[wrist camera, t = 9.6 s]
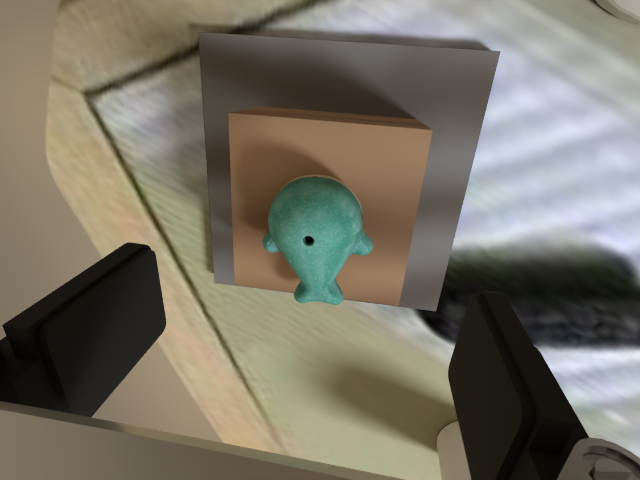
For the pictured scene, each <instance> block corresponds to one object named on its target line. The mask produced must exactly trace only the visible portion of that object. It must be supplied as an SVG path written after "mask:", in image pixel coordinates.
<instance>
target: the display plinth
mask: <svg viewBox="0 0 640 480" xmlns="http://www.w3.org/2000/svg"><path fill="white" fill-rule="evenodd" d="M198 36H199V51H200V66H201V82H202V97H203V113H204V128H205V144H206V159H207V174H208V190H209V205H210V221H211V236H212V252H213V267H214V283H220V284H228V285H235V286H243V287H251V288H259V289H267V290H274V291H282V292H290V293H294V292H295V290H296V287H297V286H298V284H299V282H300V278H299V277H298V276H297V274H296V273H295V272H294V271H293V269H292V268H291V266H290V265H289V263H288V261H287V260H286V258H285V257H284V255H283V253H282V252H280V251H278V252H273V253H272V252H269V251H267V250H266V249H265V248H264V246H263V242H262V241H263V238H264V236H265V235H266V234H267V232H268V231H269V230H270V229H269V226H268V216H269V210H270V207H271V204H272V202H273V200H274V198H275V196H276V195H277V193H278V192H279V191H280V190H281V188H282V187H284V186H285V185H286V184H287V183H288V182H290V181H291V180H293V179H295V178H298V177H301V176H305V175H326V176H330V177H333V178H336V179H338V180H340V181H342V182H343V183H345V184H346V185H347V186H349V187H350V188H351V190H352V191H353V192H354V193H355V195H356V196H357V198H358V200H359V202H360V205H361V208H362V213H363V226H362V227H363V230H364V231H365V232H366V233H367V235H368V236H369V237H370V238H371V240H372V242H373V249H372V251H371V252H370V253H369V254H368V255H363V256H361V255H357V254H351V255H350V256H349V257H348V258H347V260H346V262H345V264H344V266H343V267H342V269H341V270H340V272H339V274H338V275H337V276H336V281H337V283H338V285H339V286H340V288H341V290H342V292H343V295H344V298H343V299H345V300H353V301H360V302H368V303H376V304H384V305H392V306H399V307H407V308H415V309H423V310H431V311H436V309H437V305H438V301H439V297H440V293H441V289H442V285H443V281H444V277H445V273H446V269H447V265H448V261H449V257H450V253H451V249H452V245H453V241H454V237H455V232H456V228H457V224H458V220H459V216H460V212H461V208H462V204H463V200H464V196H465V192H466V188H467V184H468V180H469V176H470V172H471V168H472V164H473V160H474V156H475V152H476V148H477V144H478V140H479V135H480V131H481V127H482V123H483V119H484V115H485V111H486V107H487V103H488V99H489V95H490V91H491V87H492V83H493V79H494V75H495V71H496V67H497V63H498V59H499V55H500V51H485V50H470V49H454V48H439V47H424V46H408V45H393V44H377V43H362V42H346V41H331V40H315V39H300V38H284V37H269V36H253V35H238V34H222V33H207V32H198Z"/></svg>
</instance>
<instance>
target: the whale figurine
mask: <svg viewBox="0 0 640 480" xmlns="http://www.w3.org/2000/svg"><path fill="white" fill-rule="evenodd" d="M268 226H269V229H270V230H269V231H268V232H267V234H266V235H265V236H264V238H263V241H262V242H263V246H264V248H265V249H266V250H267V251H269V252H272V253H273V252H278V251H280V252H282V253H283V255H284V257H285V258H286V260H287V261H288V263H289V265H290V266H291V268H292V269H293V271H294V272H295V273H296V274H297V276H298V277H299V278H300V282H299V284H298V286H297V287H296V290H295V292H294V297H295V299H296V301H298V302H300V303H306V302H312V301H320V302H326V303H329V304H333V305H337V304H340V303H341V302H342V301H343V298H344V295H343V292H342V290H341V288H340V286H339V285H338V283H337V281H336V276H337V275H338V274H339V272H340V270H341V269H342V267H343V266H344V264H345V262H346V260H347V258H348V257H349V256H350V255H351V254H357V255H361V256H363V255H368V254H369V253H370V252H371V251H372V249H373V242H372V240H371V238H370V237H369V236H368V235H367V233H366V232H365V231H364V230H363V227H362V226H363V213H362V208H361V205H360V202H359V200H358V198H357V196H356V195H355V193H354V192H353V191H352V190H351V188H350V187H349V186H347V185H346V184H345V183H343V182H342V181H340V180H338V179H336V178H333V177H330V176H326V175H305V176H301V177H298V178H295V179H293V180H291V181H290V182H288V183H287V184H286V185H285V186H284V187H282V188H281V190H280V191H279V192H278V193H277V195H276V196H275V198H274V200H273V202H272V204H271V207H270V210H269V216H268Z"/></svg>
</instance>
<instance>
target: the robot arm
mask: <svg viewBox="0 0 640 480" xmlns="http://www.w3.org/2000/svg"><path fill="white" fill-rule="evenodd" d="M595 1H596V2H597V3H598V4H599V5H600V6H601V7H602V8H604V9H605V10H607V11H608V12H610V13H611V14H613V15H614V16H616V17H617V18H619V19H622V20H625V21H628V22H631V23H634V24H636V25H640V0H595ZM2 326H3V328H4V331H5V333H6V337H4V338H3V339H2V340H0V480H403V479H399V478H394V477H389V476H384V475H379V474H374V473H370V472H365V471H360V470H355V469H350V468H345V467H340V466H335V465H330V464H325V463H320V462H315V461H310V460H305V459H300V458H296V457H291V456H286V455H281V454H276V453H271V452H266V451H261V450H255V449H250V448H245V447H240V446H235V445H230V444H225V443H220V442H215V441H210V440H204V439H199V438H194V437H189V436H184V435H179V434H174V433H169V432H164V431H159V430H153V429H149V428H143V427H137V426H132V425H127V424H122V423H116V422H112V421H107V420H101V419H96V418H91V417H92V416H93V415H94V413H95V412H96V411H97V410H98V409H99V407H100V406H101V405H102V404H103V403H104V402H105V400H106V399H107V398H108V397H109V396H110V394H111V393H112V392H113V391H114V390H115V388H116V387H117V386H118V385H119V384H120V383H121V381H122V380H123V379H124V378H125V377H126V375H127V374H128V373H129V372H130V371H131V369H132V368H133V367H134V366H135V365H136V363H137V362H138V361H139V360H140V359H141V358H142V356H143V355H144V354H145V353H146V352H147V350H148V349H149V348H150V347H151V346H152V345H153V343H154V342H155V341H156V340H157V339H158V337H159V336H160V335H161V334H162V333H163V331H164V329H165V326H166V317H165V311H164V304H163V298H162V292H161V286H160V279H159V273H158V267H157V260H156V255H155V252H154V251H152V250H151V248H150V247H149V246H148V245H144V244H137V243H126V244H124V245H122V246H121V247H119V248H118V249H116V250H115V251H113V252H112V253H110V254H109V255H107V256H106V257H104V258H103V259H101V260H100V261H99V262H97V263H96V264H94V265H92V266H91V267H89V268H88V269H87V270H85V271H83V272H82V273H81V274H79V275H77V276H76V277H74V278H73V279H71V280H70V281H68V282H67V283H65V284H64V285H63V286H61V287H59V288H58V289H56V290H55V291H53V292H52V293H50V294H49V295H47V296H46V297H44V298H43V299H41V300H40V301H39V302H37V303H35V304H34V305H32V306H31V307H29V308H28V309H26V310H25V311H23V312H22V313H20V314H19V315H17V316H16V317H14V318H13V319H11V320H9V321H8V322H6V323H5V324H4V325H2ZM448 378H449V383H450V387H451V392H452V396H453V401H454V405H455V409H456V414H457V418H458V423H459V427H460V432H461V436H462V440H463V445H464V449H465V454H466V458H467V462H468V467H469V471H470V476H471V480H640V458H639V457H637V456H636V455H634V454H633V453H632V452H630V451H628V450H626V449H625V448H623V447H621V446H619V445H617V444H615V443H612V442H609V441H606V440H603V439H597V438H589V436H588V435H587V433H586V431H585V429H584V428H583V426H582V424H581V422H580V421H579V419H578V417H577V415H576V414H575V412H574V410H573V409H572V407H571V405H570V403H569V402H568V400H567V398H566V396H565V395H564V393H563V391H562V389H561V388H560V386H559V384H558V383H557V381H556V379H555V377H554V376H553V374H552V372H551V370H550V369H549V367H548V365H547V363H546V362H545V360H544V358H543V357H542V355H541V353H540V352H539V350H538V349H537V348H536V347H534V346H533V344H532V342H531V340H530V338H529V337H528V335H527V333H526V331H525V330H524V328H523V326H522V324H521V323H520V321H519V319H518V317H517V316H516V314H515V312H514V310H513V309H512V307H511V305H510V303H509V301H508V300H507V298H506V296H505V295H504V294H503V293H500V292H493V291H485V290H480V291H479V292H478V294H477V295H476V294H472V295H471V296H470V299H469V302H468V305H467V309H466V312H465V315H464V319H463V322H462V325H461V328H460V332H459V335H458V338H457V342H456V345H455V348H454V352H453V355H452V358H451V361H450V365H449V370H448Z"/></svg>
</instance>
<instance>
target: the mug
mask: <svg viewBox="0 0 640 480" xmlns="http://www.w3.org/2000/svg"><path fill="white" fill-rule="evenodd" d="M437 449H438V456H439V463H440V469H441V475H442V480H471V476H470V471H469V467H468V462H467V458H466V454H465V449H464V445H463V440H462V436H461V432H460V427H459V423H458V421H456V422H453V423H451V424H449V425H447V426H446V427H444V428H443V429H442V430H441V431H440V433H439V435H438V437H437Z"/></svg>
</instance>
